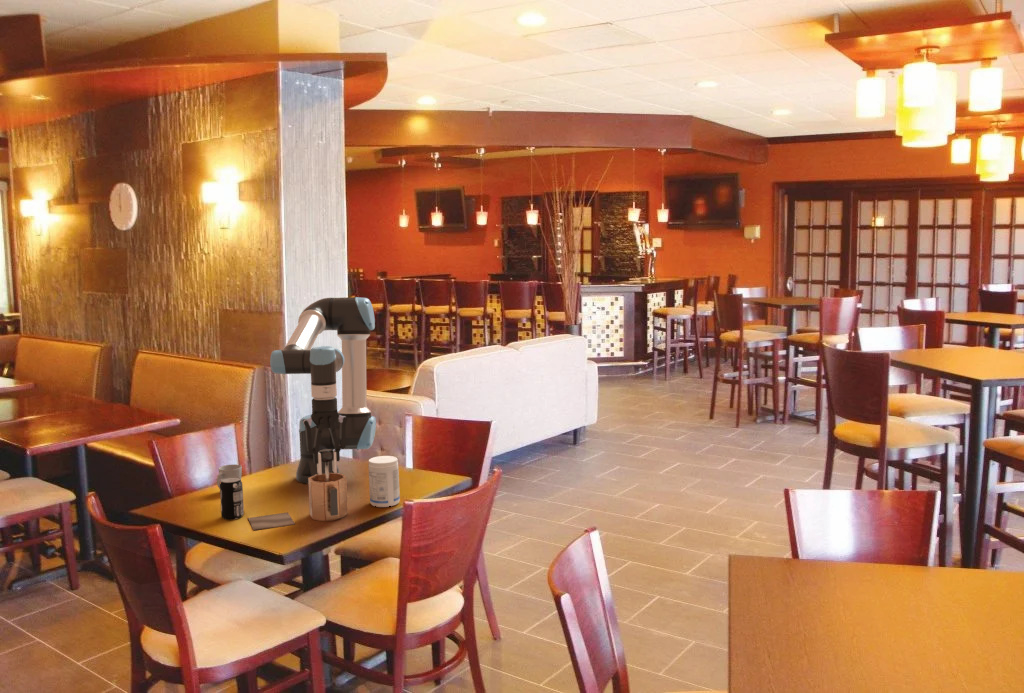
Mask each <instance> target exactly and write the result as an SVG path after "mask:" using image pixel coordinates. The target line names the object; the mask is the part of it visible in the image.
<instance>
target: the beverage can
mask: <svg viewBox="0 0 1024 693" xmlns="http://www.w3.org/2000/svg"><path fill="white" fill-rule="evenodd" d="M243 492H244V490H243V482H242V477H241V478H240V477H227V478H223V479H221V482H220V489H219V494H220V495H219V496H220V513H221V518H223V519H224V520H227V521H231V520H232V521H233V520H238V519H241V518H242V517H243V516H244V515H245V510H244V493H243Z"/></svg>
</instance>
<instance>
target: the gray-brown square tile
mask: <svg viewBox="0 0 1024 693" xmlns="http://www.w3.org/2000/svg"><path fill="white" fill-rule="evenodd" d="M247 520H248V522H249V525H250V526H251V528H252V530H253V531H255V532H256V531H259V530H261V531H262V530H268V529H274V528H280V527H287V526H294V525H296V522H295V521H294V520H293V518H292V516H291V515H290V514H289V512H281V513H275V514H273V513H272V514H267V515H266V514H265V515H260V516H258V515H257V516H252V517H247Z"/></svg>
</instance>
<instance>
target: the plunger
mask: <svg viewBox="0 0 1024 693" xmlns="http://www.w3.org/2000/svg"><path fill="white" fill-rule="evenodd" d="M320 453H321V462H325V472H326V482H329V464H328V462H330V461H333V450H332V449H324V450H320Z"/></svg>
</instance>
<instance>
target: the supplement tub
mask: <svg viewBox="0 0 1024 693" xmlns="http://www.w3.org/2000/svg"><path fill="white" fill-rule="evenodd" d="M367 468H368V487H369V489H368V490H369V503H370V504H371V506H373V507H375V506H376V507H377V508H389V506H391V507H393V506H396V505H398V504H399V503H400V501H401V500H400V495H401V493H400V473H399V460H398V458H397V457H396V456H392V455H379V456H374V457H371V458H369V459H368V467H367Z"/></svg>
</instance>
